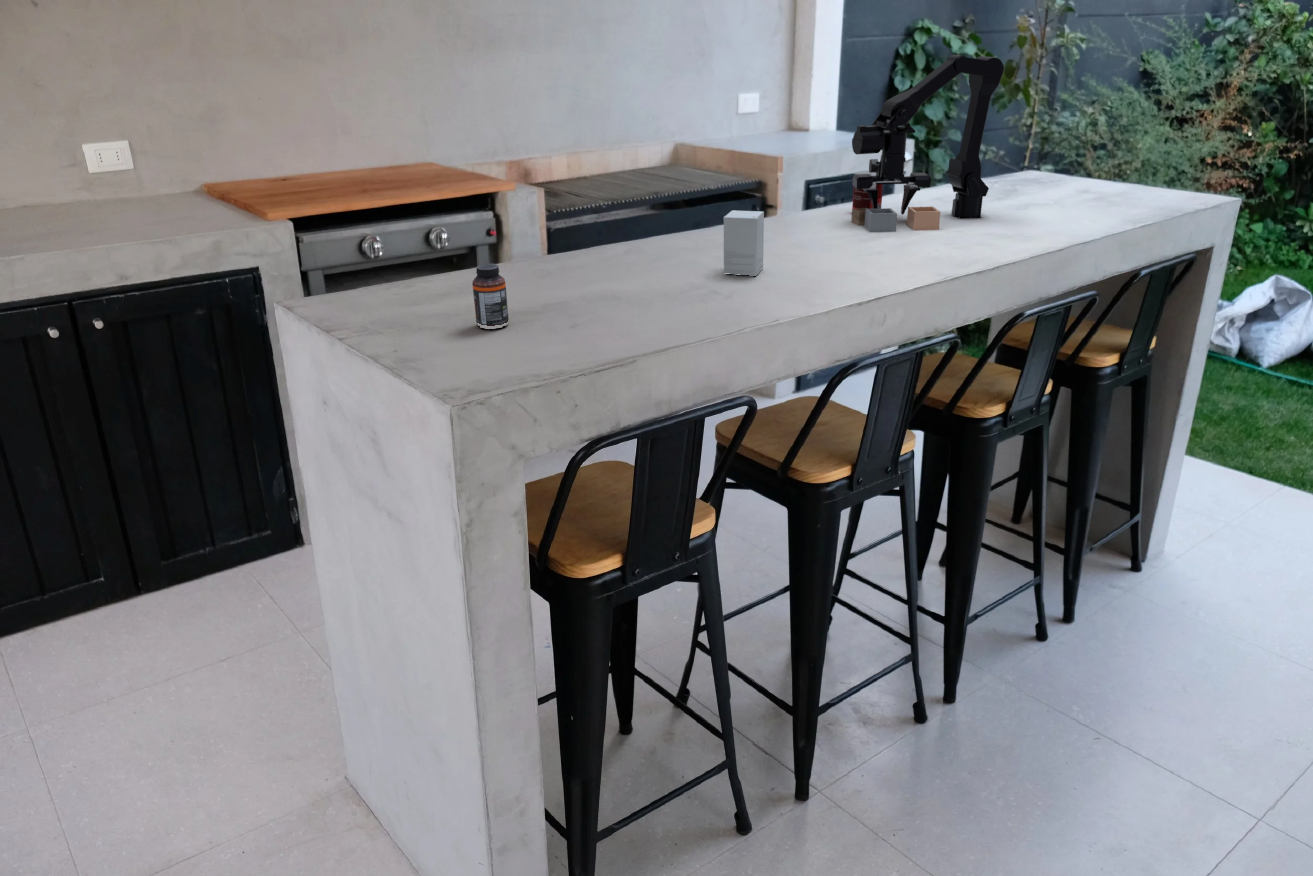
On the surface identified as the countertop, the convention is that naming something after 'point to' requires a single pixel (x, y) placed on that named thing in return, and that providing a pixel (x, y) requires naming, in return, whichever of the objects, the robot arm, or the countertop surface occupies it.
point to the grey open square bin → (880, 220)
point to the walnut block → (858, 216)
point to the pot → (923, 218)
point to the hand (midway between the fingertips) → (888, 214)
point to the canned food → (866, 195)
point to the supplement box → (743, 242)
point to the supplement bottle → (490, 296)
